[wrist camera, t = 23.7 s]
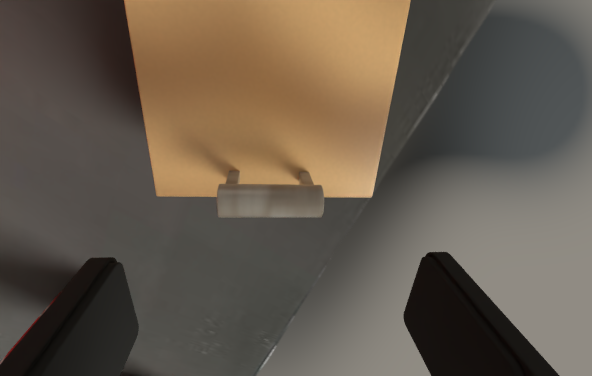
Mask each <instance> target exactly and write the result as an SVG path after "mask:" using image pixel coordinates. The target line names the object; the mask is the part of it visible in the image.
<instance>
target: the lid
mask: <svg viewBox="0 0 592 376" xmlns="http://www.w3.org/2000/svg"><path fill="white" fill-rule="evenodd" d="M410 1H411V0H124V5H125V10H126V16H127V22H128V28H129V34H130V40H131V46H132V52H133V58H134V64H135V70H136V76H137V82H138V88H139V94H140V100H141V106H142V112H143V118H144V124H145V130H146V136H147V142H148V148H149V154H150V160H151V166H152V172H153V177H154V183H155V189H156V195H157V196H207V197H217V213H218V217H220V218H245V217H321V216H322V214H323V210H324V197H372V195H373V190H374V185H375V180H376V175H377V169H378V164H379V159H380V154H381V149H382V144H383V139H384V134H385V129H386V124H387V118H388V113H389V108H390V103H391V98H392V93H393V88H394V83H395V78H396V73H397V67H398V62H399V57H400V52H401V47H402V42H403V37H404V32H405V27H406V21H407V16H408V11H409V6H410Z"/></svg>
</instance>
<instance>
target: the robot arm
mask: <svg viewBox="0 0 592 376" xmlns="http://www.w3.org/2000/svg"><path fill="white" fill-rule="evenodd" d="M404 322H405V325H406V327H407V329H408V331H409V333H410V335H411V337H412V339H413V341H414V342H415V344H416V346H417V348H418V350H419V352H420V354H421V356H422V358H423V360H424V362H425V364H426V366H427V368H428V370H429V372H430V374H431V376H559V375H558V374H557V373H556V371H555V370H554V369H553V368H552V367H551V366H550V365H549V364H548V363H547V361H546V360H545V359H544V358H543V357H542V356H541V355H540V354H539V353H538V351H536V349H535V348H534V347H533V346H532V345H531V344H530V343H529V341H528V340H527V339H526V338H525V337H524V336H523V335H522V334H521V333H520V331H519V330H518V329H517V328H516V327H515V326H514V325H513V324H512V323H511V321H510V320H509V319H508V318H507V317H506V316H505V315H504V314H503V313H502V311H500V309H499V308H498V307H497V306H496V305H495V304H494V303H493V302H492V300H491V299H490V298H489V297H488V296H487V295H486V294H485V293H484V292H483V290H482V289H481V288H480V287H479V286H478V285H477V284H476V283H475V282H474V281H473V279H472V278H471V277H470V276H469V275H468V274H467V273H466V272H465V270H464V269H463V268H462V267H461V266H460V265H459V264H458V263H457V262H456V261H455V259H454V258H453V257H452V256H451V255H450V254H449V253H447V252H429V253H427V254H426V256H425V257H423V258H422V260H421V262H420V265H419V268H418V271H417V274H416V278H415V280H414V283H413V287H412V290H411V293H410V296H409V299H408V302H407V305H406V308H405V311H404ZM138 328H139V326H138V321H137V317H136V314H135V310H134V306H133V302H132V299H131V295H130V291H129V287H128V284H127V280H126V276H125V272H124V268H123V265H122V264H121V263H119V262H118V263H117V261H116V259H115V258H90V259H89V260H88V261H87V262H86V263H85V264H84V265H83V266H82V268H81V269H80V270H79V271H78V272H77V274H76V275H75V276H74V277H73V278H72V280H71V281H70V282H69V283H68V284H67V286H66V287H65V288H64V289H63V290H62V292H61V293H60V294H59V295H58V296H57V297H56V299H55V300H54V301H53V302H52V303H51V305H50V306H49V307H48V308H47V309H46V311H45V312H44V313H43V314H42V315H41V316H40V317H39V318H38V320H37V321H36V322H35V323H34V324H33V326H32V327H31V328H30V329H29V330H28V332H27V333H26V334H25V335H24V336H23V338H22V339H21V340H20V341H19V342H18V344H17V345H16V346H15V347H14V348H13V350H12V351H11V352H10V353H9V354H8V356H7V357H6V358H5V359H4V360H3V362H2V363H1V364H0V376H120V374H121V372H122V370H123V367H124V365H125V363H126V361H127V358H128V356H129V354H130V351H131V349H132V347H133V345H134V342H135V340H136V338H137V335H138Z"/></svg>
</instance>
